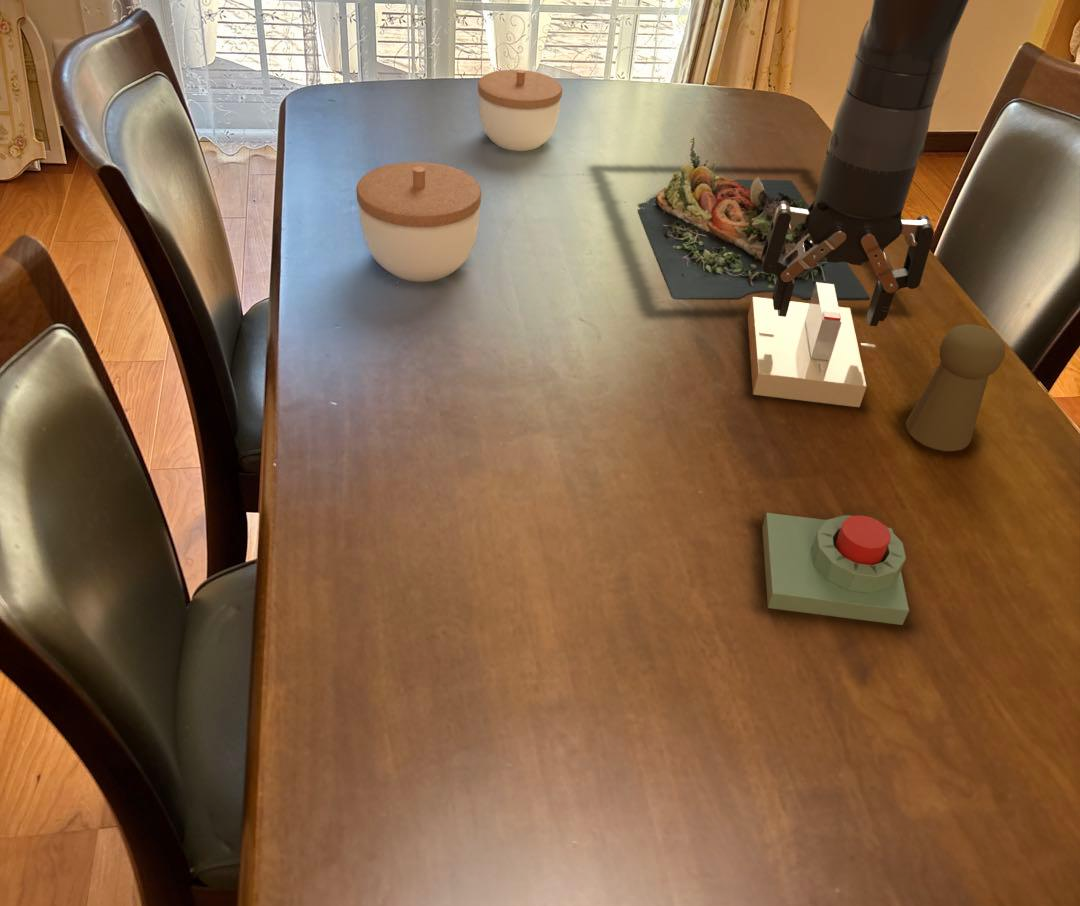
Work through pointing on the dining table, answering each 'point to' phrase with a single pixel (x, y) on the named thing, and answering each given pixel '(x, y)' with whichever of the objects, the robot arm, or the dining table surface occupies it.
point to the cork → (956, 388)
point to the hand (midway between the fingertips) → (825, 317)
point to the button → (863, 540)
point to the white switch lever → (823, 321)
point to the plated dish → (728, 237)
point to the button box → (829, 572)
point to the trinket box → (519, 108)
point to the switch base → (802, 357)
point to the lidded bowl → (419, 218)
